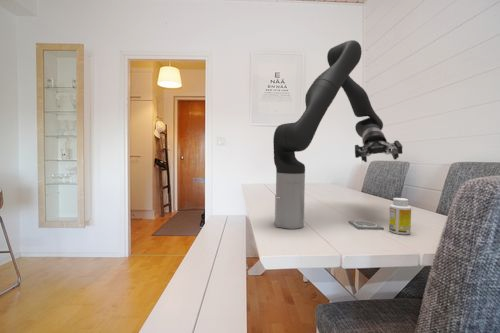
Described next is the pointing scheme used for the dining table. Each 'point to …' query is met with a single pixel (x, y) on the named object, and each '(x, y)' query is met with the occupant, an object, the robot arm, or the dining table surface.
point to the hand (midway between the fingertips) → (380, 158)
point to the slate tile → (366, 225)
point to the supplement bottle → (400, 216)
